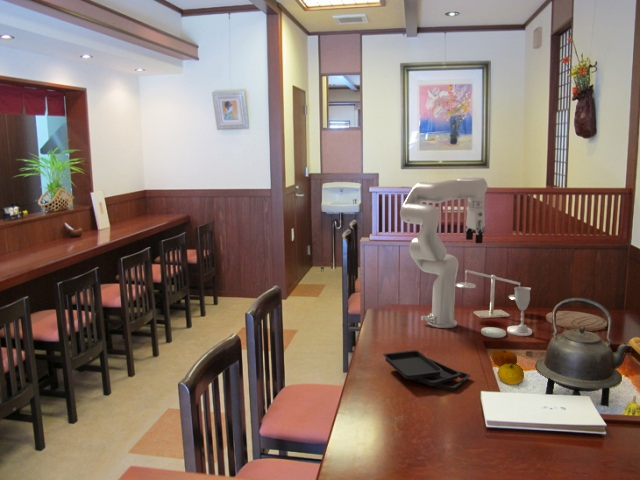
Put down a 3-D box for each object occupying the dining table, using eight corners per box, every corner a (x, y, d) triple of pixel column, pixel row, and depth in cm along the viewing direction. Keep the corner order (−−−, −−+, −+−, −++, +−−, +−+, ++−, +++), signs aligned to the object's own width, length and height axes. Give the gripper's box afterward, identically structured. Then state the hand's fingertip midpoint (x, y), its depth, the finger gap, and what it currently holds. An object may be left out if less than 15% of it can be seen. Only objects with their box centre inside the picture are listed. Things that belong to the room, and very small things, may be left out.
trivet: (535, 322, 253) (536, 318, 253) (561, 311, 270) (561, 307, 269) (592, 336, 235) (592, 331, 234) (616, 323, 251) (616, 319, 251)
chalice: (532, 332, 232) (532, 289, 231) (514, 332, 233) (515, 289, 232) (529, 328, 239) (529, 287, 238) (512, 328, 240) (512, 286, 239)
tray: (474, 374, 195) (474, 360, 194) (456, 401, 175) (457, 385, 174) (392, 359, 209) (393, 345, 208) (368, 382, 189) (368, 367, 188)
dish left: (487, 338, 231) (488, 335, 231) (476, 330, 240) (477, 327, 240) (510, 336, 233) (510, 334, 232) (498, 329, 242) (498, 326, 242)
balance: (459, 319, 255) (461, 272, 252) (451, 314, 264) (453, 268, 260) (531, 315, 262) (534, 269, 258) (521, 310, 271) (524, 265, 267)
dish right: (514, 336, 233) (514, 333, 233) (502, 329, 243) (502, 326, 242) (536, 335, 235) (536, 332, 235) (523, 327, 244) (524, 325, 244)
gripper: (492, 206, 250) (490, 244, 253) (474, 202, 267) (473, 238, 270) (476, 206, 249) (474, 244, 252) (460, 202, 265) (458, 238, 268)
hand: (473, 241), depth 261 cm, fingers open, 9 cm apart
